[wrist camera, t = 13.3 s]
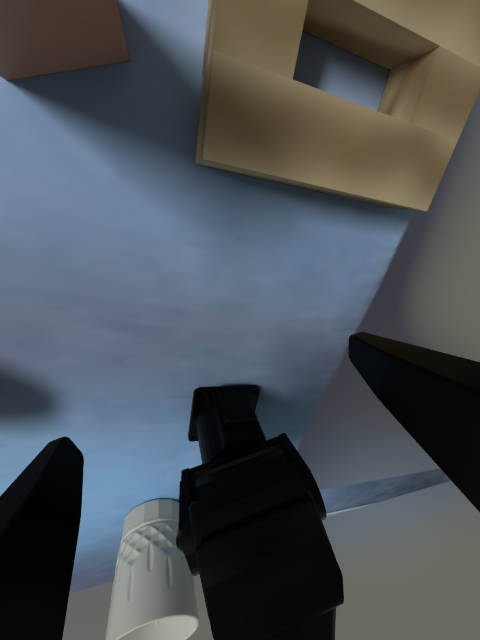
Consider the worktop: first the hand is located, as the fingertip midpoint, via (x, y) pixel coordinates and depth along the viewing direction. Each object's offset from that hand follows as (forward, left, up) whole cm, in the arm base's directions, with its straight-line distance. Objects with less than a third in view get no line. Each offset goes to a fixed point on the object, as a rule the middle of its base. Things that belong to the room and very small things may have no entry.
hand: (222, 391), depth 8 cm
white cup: (-30, +1, -13) cm, 33 cm away
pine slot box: (+13, -8, -13) cm, 20 cm away
